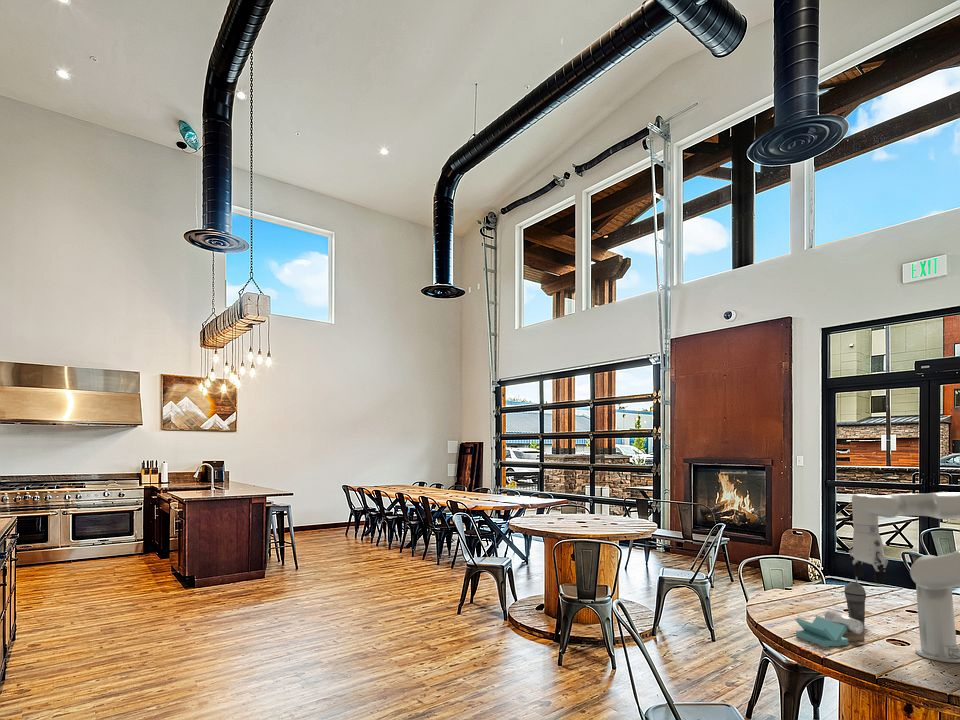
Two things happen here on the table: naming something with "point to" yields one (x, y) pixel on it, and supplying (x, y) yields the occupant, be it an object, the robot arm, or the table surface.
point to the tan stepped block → (853, 636)
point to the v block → (822, 632)
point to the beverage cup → (855, 600)
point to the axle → (845, 622)
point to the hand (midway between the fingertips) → (869, 579)
